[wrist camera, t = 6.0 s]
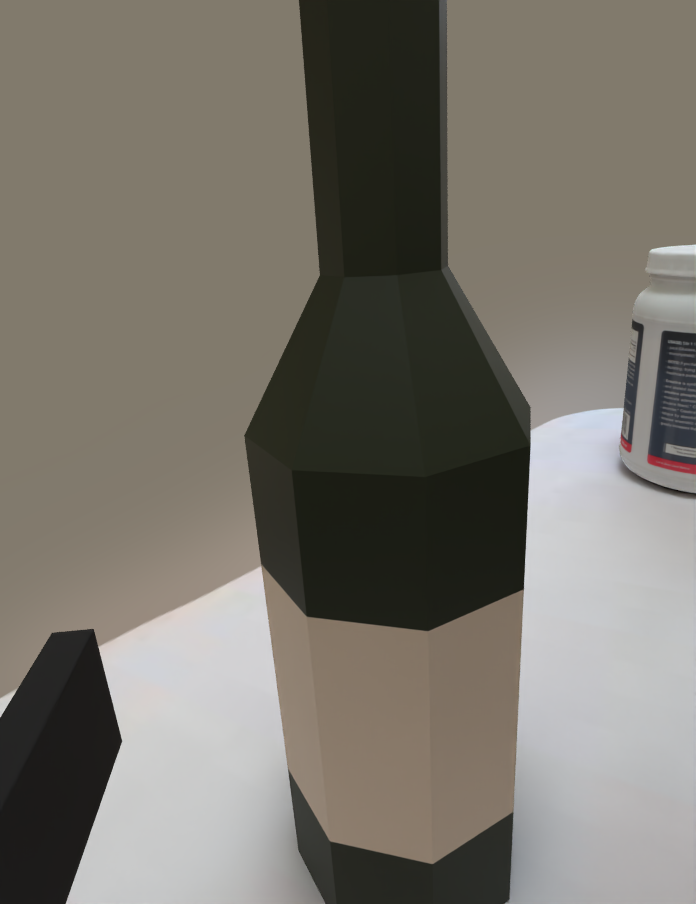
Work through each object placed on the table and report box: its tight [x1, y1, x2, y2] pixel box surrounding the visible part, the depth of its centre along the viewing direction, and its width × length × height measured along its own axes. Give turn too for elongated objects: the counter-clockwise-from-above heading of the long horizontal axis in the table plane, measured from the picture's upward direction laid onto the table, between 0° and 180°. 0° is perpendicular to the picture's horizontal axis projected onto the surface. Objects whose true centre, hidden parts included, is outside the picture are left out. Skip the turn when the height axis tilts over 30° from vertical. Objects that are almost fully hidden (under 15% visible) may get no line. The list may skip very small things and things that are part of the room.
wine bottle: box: [244, 0, 530, 904], centre depth 18 cm, size 8×8×30 cm
